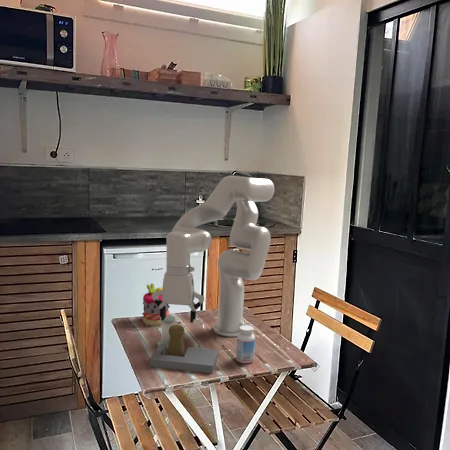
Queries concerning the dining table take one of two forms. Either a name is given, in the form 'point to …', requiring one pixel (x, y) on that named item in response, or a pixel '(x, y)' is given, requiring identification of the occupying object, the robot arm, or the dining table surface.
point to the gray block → (186, 359)
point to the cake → (152, 307)
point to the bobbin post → (166, 330)
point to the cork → (176, 341)
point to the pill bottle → (245, 344)
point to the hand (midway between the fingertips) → (177, 320)
